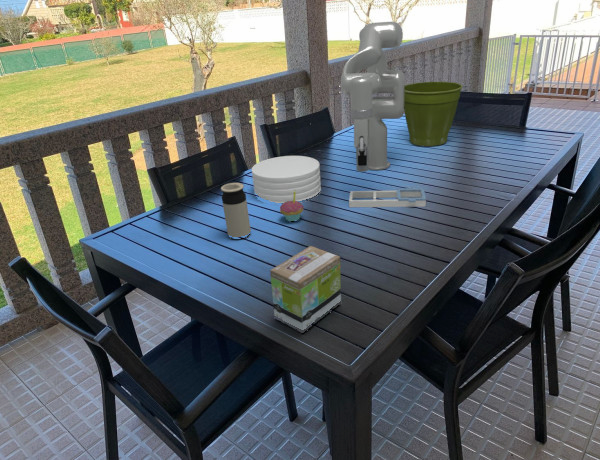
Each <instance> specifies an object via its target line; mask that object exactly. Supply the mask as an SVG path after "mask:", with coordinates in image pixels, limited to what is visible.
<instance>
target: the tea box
mask: <svg viewBox="0 0 600 460" xmlns="http://www.w3.org/2000/svg"><path fill="white" fill-rule="evenodd" d="M269 271H270V273H269V274H270V284H271V294H272V305H273V314H274V315H273V317H274V316H276V317H278V318H280V319H282V320H283V321H285V322H287V323H289V324H291V325H293V326H295V327H297V328H299V329H301V330H304V329H306V328H307V327H308V326H309V325H311V324H312V323H313V322H315V321H316V320H317V319H318V318H319V317H321V316H322V315H323V314H325V313H326V312H327V311H329V310H330V309H331V308H332V307H333V306H335V305H336V304H337V303H339V302H340V301H341V302H342V293H341V291H342V284H341V279H342V278H341V275H342V274H341V256H339V255H337V254H333V253H331V252H328V251H326V250H323V249H320V248H318V247H314V246H312V245H310V246H308V247H307V248H305V249H303V250H302V251H300V252H298V253H296V254H294V255H293V256H291V257H290V258H288V259H287V260H284V261H283V262H281V263H280V264H278V265H276V266H275V267H273V268H271V269H270V270H269Z"/></svg>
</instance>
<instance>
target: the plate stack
mask: <svg viewBox="0 0 600 460" xmlns="http://www.w3.org/2000/svg"><path fill="white" fill-rule="evenodd" d="M320 166H321V165H320V162H319V161H318V160H317V159H315V158H313V157H309V156H305V155H304V156H303V155H284V156H277V157H271V158H267V159H264V160H261V161H260V162H257V163H255V164H254V165H253V166H252V167H251V174H252V184H253V191H254V194H255V193H256V194H257V195H258V196H259V197H261V198H263V199H265V200H269V201H270V202H275V203H285V202H287V201H293V197H294V191H295V192H296V194H295V201H302V200H306V199H309V198H312V197H314V196H316V195H317V194H318V193H319V192H320V191H322V187H321V170H320ZM320 193H321V192H320ZM320 193H319V194H320ZM317 196H318V195H317ZM317 196H316V197H317Z"/></svg>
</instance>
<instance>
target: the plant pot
mask: <svg viewBox="0 0 600 460" xmlns="http://www.w3.org/2000/svg"><path fill="white" fill-rule="evenodd" d="M462 89H463V85H462V84H461V83H459V82H451V81H422V82H421V81H420V82H414V83H408V84H405V94H404V116H405V122H406V127H407V131H408V134H409V135H408V136H409V142H410V144H412V145H415V146H418V147H436V146H437V145H438V146H442V145H443V144H446V143H447V142H448V136H449V133H450V130H451V128H452V125H453V122H454V118H455V116H456V112H457V108H458V104H459V100H460V96H461V91H462ZM438 146H437V147H438Z"/></svg>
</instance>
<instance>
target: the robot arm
mask: <svg viewBox="0 0 600 460" xmlns="http://www.w3.org/2000/svg"><path fill="white" fill-rule="evenodd" d="M358 37H359V45H358V51H357V52H356V53H354V54H353V55H352V56H350V58H349V59H348V60H347V61H346V63H344V66H343V69H342V74H341V78H340V90H341V93H342V94H344V95H345V96H350V120H353V147H354V148H355V149H356V147H358V166H366V165H367V155H366V147H367V146H368V144H369V170H368V171H382V170H386V169H389V167H391V163H390V161H388V127H387V125H386V124H385V122H384V121H383V120H393V119H394V120H396V119H398V120H399V119H401V118H402V117H403V115H404V114H405V112H404V94H405V85H406V83H405V73H404V72H403V71H402V70H401V69H388V56H387V54H386V53H385V50H383V49H393V48H394V49H395V48H399V47H400V46H401V45H402V42H403V39H404V38H403V37H404V33H403V28H402V26H401V25H400V23H398V22H396V21H382V22H381V21H380V22H378V21H377V22H371V23H370V22H369V23H367V24H366V25H365V26H364V27H362V29H360V31H359V36H358ZM363 70H366V71H367V72H361V71H363ZM376 94H392V95H391V96H390V95H389V96H386V95H385V96H382V95H381V96H373V95H376ZM359 145H360V147H359ZM364 145H365V146H364Z"/></svg>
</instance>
